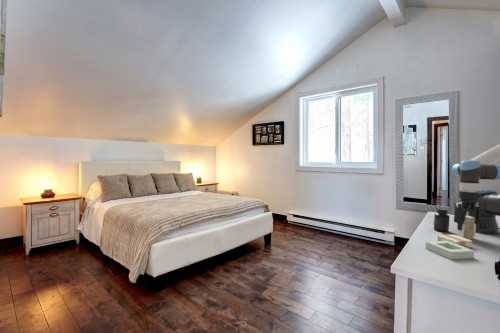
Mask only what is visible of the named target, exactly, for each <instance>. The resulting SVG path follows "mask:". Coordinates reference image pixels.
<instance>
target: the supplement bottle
mask: <svg viewBox="0 0 500 333" xmlns="http://www.w3.org/2000/svg"><path fill="white" fill-rule="evenodd" d="M433 230H434V231H437V232H439V233H440V232H441V233H448V232H449V230H450V215H449V214H448V209H446V208H436V212H435V213H434V216H433Z"/></svg>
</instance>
